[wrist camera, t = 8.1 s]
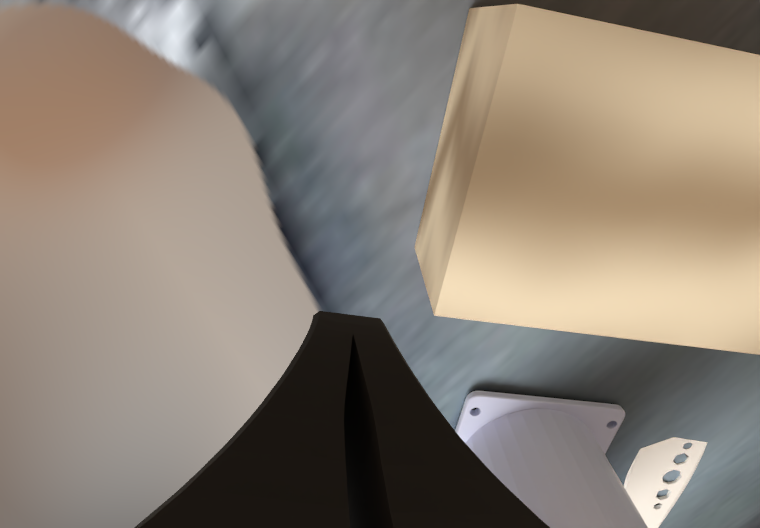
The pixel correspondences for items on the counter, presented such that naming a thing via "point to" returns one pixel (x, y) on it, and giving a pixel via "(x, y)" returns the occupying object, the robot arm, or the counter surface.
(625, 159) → the wooden box
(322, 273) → the counter surface
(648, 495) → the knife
